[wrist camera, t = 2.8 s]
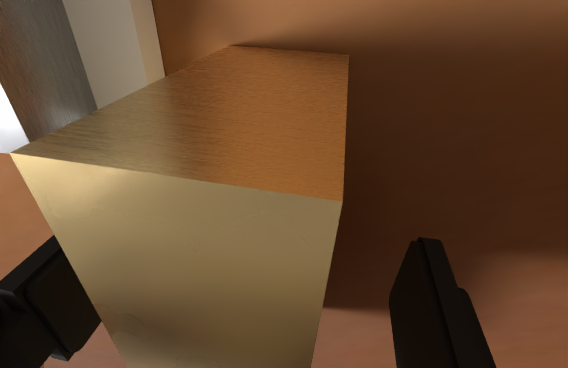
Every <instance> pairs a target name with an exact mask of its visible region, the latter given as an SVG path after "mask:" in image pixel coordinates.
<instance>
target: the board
mask: <svg viewBox="0 0 568 368" xmlns="http://www.w3.org/2000/svg"><path fill="white" fill-rule="evenodd" d="M62 1H63V4H64V7H65V10H66V13H67V16H68V19H69V22H70V25H71V29H72V32H73V35H74V38H75V41H76V44H77V47H78V50H79V53H80V56H81V59H82V62H83V65H84V68H85V71H86V74H87V78H88V81H89V84H90V87H91V90H92V93H93V96H94V99H95V102H96V105H97V108H98V109H100V108H102V107H104V106H106V105H108V104H110V103H112V102H115V101H117V100H119V99H121V98H123V97H125V96H127V95H129V94H131V93H133V92H135V91H137V90H139V89H141V88H143V87H145V86H147V85H149V84H151V83H153V82H155V81H157V80H160V79H162V78H164V77H165V73H164V67H163V62H162V56H161V51H160V45H159V40H158V34H157V29H156V23H155V18H154V12H153V7H152V1H151V0H62Z"/></svg>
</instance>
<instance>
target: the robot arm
mask: <svg viewBox="0 0 568 368" xmlns="http://www.w3.org/2000/svg"><path fill="white" fill-rule="evenodd" d="M389 308H390V316H391V324H392V333H393V341H394V349H395V357H396V365H397V368H496V365H495V363H494V360H493V357H492V355H491V352H490V349H489V347H488V344H487V342H486V339H485V336H484V334H483V331H482V328H481V326H480V323H479V320H478V318H477V315H476V313H475V310H474V307H473V305H472V302H471V299H470V297H469V295H468V293H467V292H466V291H465V290H464V289H462V288H458V287H457V284H456V281H455V278H454V275H453V273H452V270H451V267H450V264H449V261H448V258H447V256H446V253H445V250H444V247H443V244H442V242H441V241H440V240H435V239H429V238H422V237H419V238H418V239H417V241H411V243H410V245H409V248H408V250H407V252H406V255H405V257H404V260H403V262H402V265H401V267H400V270H399V272H398V275H397V277H396V280H395V282H394V285H393V287H392V290H391V292H390V296H389ZM101 322H102V320H101V318H100V317H99V315H98V313H97V311H96V309H95V307H94V306H93V304H92V302H91V300H90V298H89V297H88V295H87V293H86V291H85V289H84V287H83V286H82V284H81V282H80V280H79V278H78V277H77V275H76V273H75V271H74V269H73V267H72V266H71V264H70V262H69V260H68V258H67V257H66V255H65V253H64V251H63V249H62V247H61V246H60V244H59V242H58V240H57V238H56V237H55V235H53V236H52V237H51V238H50V239H49V240H47V241H46V242H45V243H44V244H43V245H42V246H40V247H39V248H38V249H37V250H36V251H35V252H33V253H32V254H31V255H30V256H29V257H28V258H26V259H25V260H24V261H23V262H22V263H21V264H19V265H18V266H17V267H16V268H15V269H14V270H12V271H11V272H10V273H9V274H8V275H7V276H5V277H4V278H3V279H2V280H1V281H0V368H44V362H45V361H46V360H47V358H48V357H49V356H51V357H52V358H55V359H59V360H64V361H69V360H70V358H71V357H72V356H73V354H74V353H75V352H77V351H79V350H80V349H81V348H82V347H83V346H84V345H85V343H86V342H87V341H88V339H89V338H90V337H91V335H92V334H93V332H94V331H95V330H96V328H97V327H98V326H99V324H100V323H101Z"/></svg>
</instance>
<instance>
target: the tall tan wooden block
mask: <svg viewBox="0 0 568 368" xmlns="http://www.w3.org/2000/svg"><path fill="white" fill-rule="evenodd" d="M348 68H349V55H346V54H334V53H321V52H309V51H296V50H283V49H271V48H258V47H246V46H233V45H229V46H227V47H225V48H223V49H221V50H219V51H217V52H215V53H213V54H211V55H209V56H207V57H205V58H203V59H200V60H198V61H196V62H194V63H192V64H190V65H188V66H186V67H184V68H182V69H180V70H178V71H176V72H174V73H172V74H170V75H168V76H166V77H164V78H162V79H160V80H157V81H155V82H153V83H151V84H149V85H147V86H145V87H143V88H141V89H139V90H137V91H135V92H133V93H131V94H129V95H127V96H125V97H123V98H121V99H119V100H117V101H115V102H112V103H110V104H108V105H106V106H104V107H102V108H100V109H98V110H96V111H94V112H92V113H90V114H88V115H86V116H84V117H82V118H80V119H78V120H76V121H74V122H72V123H69V124H67V125H65V126H63V127H61V128H59V129H57V130H55V131H53V132H51V133H49V134H47V135H45V136H43V137H41V138H39V139H37V140H35V141H33V142H31V143H29V144H27V145H24V146H22V147H20V148H18V149H16V150H14V151H12V152H10V155H11V156H12V158H13V160H14V162H15V164H16V166H17V167H18V169H19V171H20V173H21V175H22V176H23V178H24V180H25V182H26V184H27V186H28V187H29V189H30V191H31V193H32V195H33V196H34V198H35V200H36V202H37V204H38V206H39V207H40V209H41V211H42V213H43V215H44V217H45V218H46V220H47V222H48V224H49V226H50V227H51V229H52V231H53V233H54V235H55V237H56V238H57V240H58V242H59V244H60V246H61V247H62V249H63V251H64V253H65V255H66V257H67V258H68V260H69V262H70V264H71V266H72V267H73V269H74V271H75V273H76V275H77V277H78V278H79V280H80V282H81V284H82V286H83V287H84V289H85V291H86V293H87V295H88V297H89V298H90V300H91V302H92V304H93V306H94V307H95V309H96V311H97V313H98V315H99V317H100V318H101V320H102V322H103V324H104V326H105V328H106V329H107V331H108V333H109V335H110V337H111V338H112V340H113V342H114V344H115V346H116V348H117V349H118V351H119V353H120V355H121V357H122V358H123V360H124V362H125V364H126V366H127V368H311V363H312V358H313V352H314V347H315V342H316V337H317V332H318V327H319V321H320V316H321V311H322V306H323V301H324V296H325V290H326V285H327V280H328V275H329V270H330V265H331V259H332V254H333V249H334V244H335V239H336V234H337V229H338V223H339V218H340V213H341V208H342V203H343V184H344V161H345V138H346V114H347V91H348Z"/></svg>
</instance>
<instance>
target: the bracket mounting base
mask: <svg viewBox="0 0 568 368" xmlns="http://www.w3.org/2000/svg"><path fill="white" fill-rule="evenodd" d="M96 110H98V108H97V105H96V102H95V99H94V96H93V93H92V90H91V87H90V84H89V81H88V78H87V74H86V71H85V68H84V65H83V62H82V59H81V56H80V53H79V50H78V47H77V44H76V41H75V38H74V35H73V32H72V29H71V25H70V22H69V19H68V16H67V13H66V10H65V7H64V4H63V1H62V0H0V152H1V153H8V154H10V152H12V151H14V150H16V149H18V148H20V147H22V146H24V145H27V144H29V143H31V142H33V141H35V140H37V139H39V138H41V137H43V136H45V135H47V134H49V133H51V132H53V131H55V130H57V129H59V128H61V127H63V126H65V125H67V124H69V123H72V122H74V121H76V120H78V119H80V118H82V117H84V116H86V115H88V114H90V113H92V112H94V111H96Z"/></svg>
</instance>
